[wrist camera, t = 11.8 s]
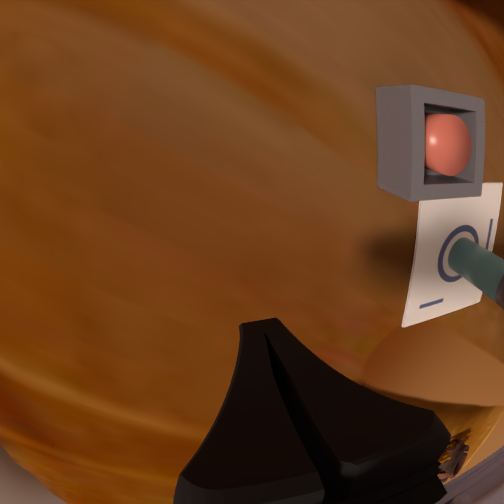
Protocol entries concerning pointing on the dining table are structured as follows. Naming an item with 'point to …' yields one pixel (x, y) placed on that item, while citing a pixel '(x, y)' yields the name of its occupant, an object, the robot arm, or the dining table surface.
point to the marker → (479, 268)
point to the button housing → (413, 142)
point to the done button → (446, 144)
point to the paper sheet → (437, 251)
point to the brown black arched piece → (453, 461)
